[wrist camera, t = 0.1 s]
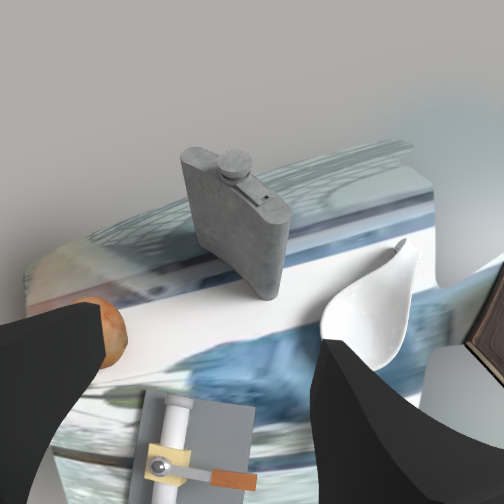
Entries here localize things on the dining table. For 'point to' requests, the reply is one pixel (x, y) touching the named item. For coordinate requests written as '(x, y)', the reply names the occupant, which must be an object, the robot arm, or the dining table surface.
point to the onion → (109, 329)
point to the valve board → (190, 448)
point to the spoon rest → (375, 309)
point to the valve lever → (203, 474)
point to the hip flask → (237, 216)
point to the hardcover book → (490, 333)
